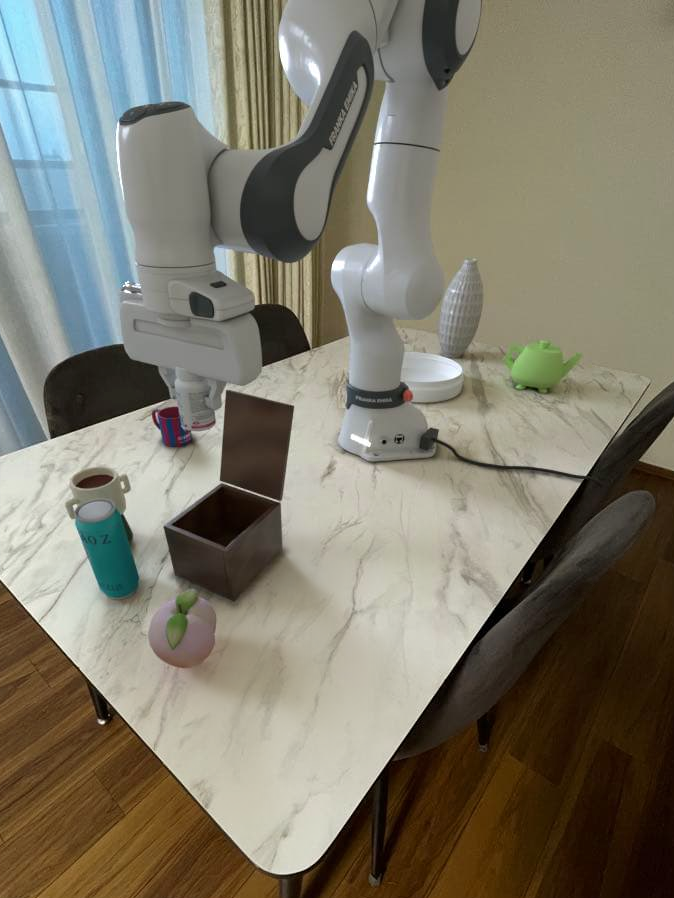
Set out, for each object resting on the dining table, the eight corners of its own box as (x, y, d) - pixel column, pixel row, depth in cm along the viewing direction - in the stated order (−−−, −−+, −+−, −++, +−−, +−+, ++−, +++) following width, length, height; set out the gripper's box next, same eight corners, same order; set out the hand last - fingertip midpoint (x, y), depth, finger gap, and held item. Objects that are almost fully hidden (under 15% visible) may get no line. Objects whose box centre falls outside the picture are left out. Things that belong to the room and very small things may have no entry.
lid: (291, 406, 66) (294, 405, 67) (225, 389, 70) (229, 389, 71) (279, 501, 72) (282, 499, 73) (219, 480, 76) (222, 479, 77)
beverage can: (107, 577, 74) (78, 497, 64) (144, 575, 74) (121, 496, 64) (97, 604, 69) (65, 523, 60) (137, 602, 70) (111, 521, 60)
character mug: (129, 520, 85) (110, 456, 77) (154, 535, 82) (137, 470, 74) (74, 550, 78) (47, 484, 70) (98, 568, 75) (73, 501, 67)
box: (233, 602, 70) (227, 552, 63) (174, 575, 74) (163, 525, 68) (282, 551, 79) (281, 502, 73) (227, 529, 83) (221, 482, 77)
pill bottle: (221, 420, 67) (215, 360, 61) (206, 434, 63) (198, 371, 58) (191, 415, 68) (182, 356, 63) (175, 429, 64) (164, 367, 59)
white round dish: (447, 368, 149) (450, 351, 146) (473, 402, 128) (478, 383, 125) (362, 368, 148) (364, 351, 145) (375, 403, 127) (377, 383, 124)
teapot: (569, 383, 140) (585, 339, 132) (569, 399, 131) (586, 353, 123) (499, 373, 146) (510, 330, 138) (494, 388, 136) (506, 343, 128)
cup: (175, 449, 106) (170, 421, 102) (148, 436, 111) (141, 409, 106) (198, 438, 110) (193, 411, 106) (170, 427, 115) (165, 400, 111)
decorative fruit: (162, 631, 65) (147, 579, 59) (222, 627, 66) (213, 575, 60) (151, 689, 58) (133, 638, 52) (218, 684, 59) (208, 633, 52)
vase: (434, 359, 155) (451, 262, 138) (432, 348, 165) (448, 255, 147) (473, 362, 154) (495, 264, 136) (469, 350, 164) (490, 257, 146)
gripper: (97, 284, 57) (123, 395, 65) (232, 306, 49) (242, 429, 58) (136, 276, 61) (156, 381, 70) (266, 295, 53) (271, 411, 62)
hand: (196, 403), depth 64 cm, fingers closed on pill bottle, 5 cm apart
